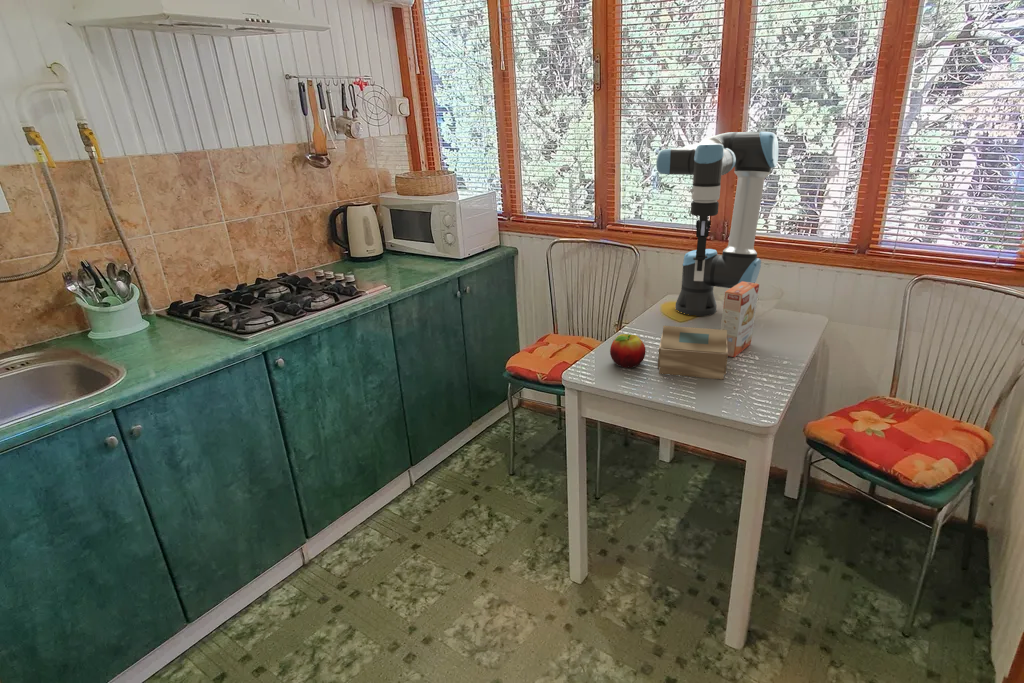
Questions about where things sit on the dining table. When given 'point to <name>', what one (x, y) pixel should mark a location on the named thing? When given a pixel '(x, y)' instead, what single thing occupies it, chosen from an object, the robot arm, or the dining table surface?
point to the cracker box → (739, 316)
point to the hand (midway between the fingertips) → (698, 280)
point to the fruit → (627, 350)
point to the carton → (692, 363)
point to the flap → (694, 339)
